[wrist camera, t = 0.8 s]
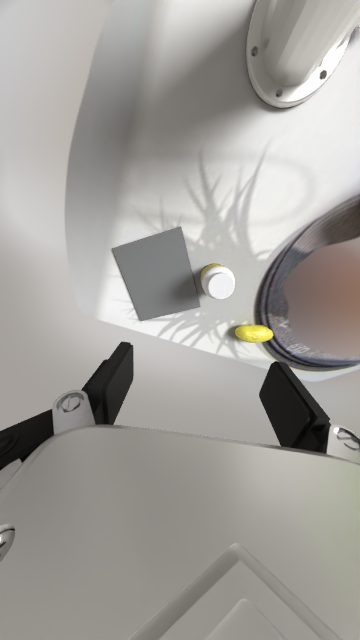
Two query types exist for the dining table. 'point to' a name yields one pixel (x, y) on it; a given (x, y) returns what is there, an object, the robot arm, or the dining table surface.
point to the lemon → (253, 333)
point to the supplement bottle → (217, 281)
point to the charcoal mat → (158, 274)
